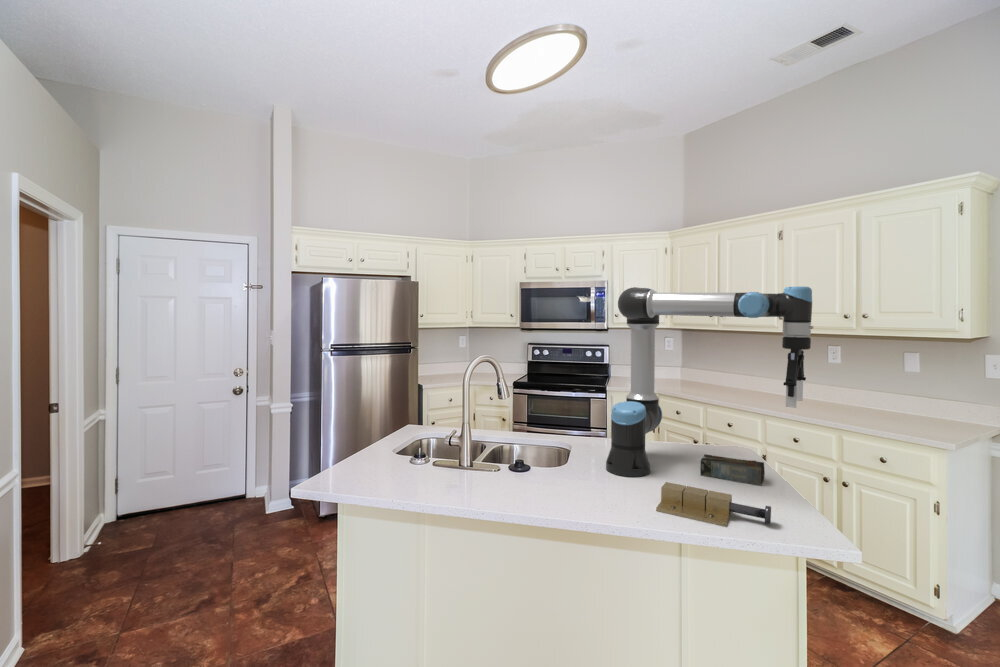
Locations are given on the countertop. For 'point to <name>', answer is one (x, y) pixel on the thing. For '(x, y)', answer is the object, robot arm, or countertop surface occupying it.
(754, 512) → the hinge pin
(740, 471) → the dark brown rectangular block
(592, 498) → the countertop surface
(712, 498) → the hinge
